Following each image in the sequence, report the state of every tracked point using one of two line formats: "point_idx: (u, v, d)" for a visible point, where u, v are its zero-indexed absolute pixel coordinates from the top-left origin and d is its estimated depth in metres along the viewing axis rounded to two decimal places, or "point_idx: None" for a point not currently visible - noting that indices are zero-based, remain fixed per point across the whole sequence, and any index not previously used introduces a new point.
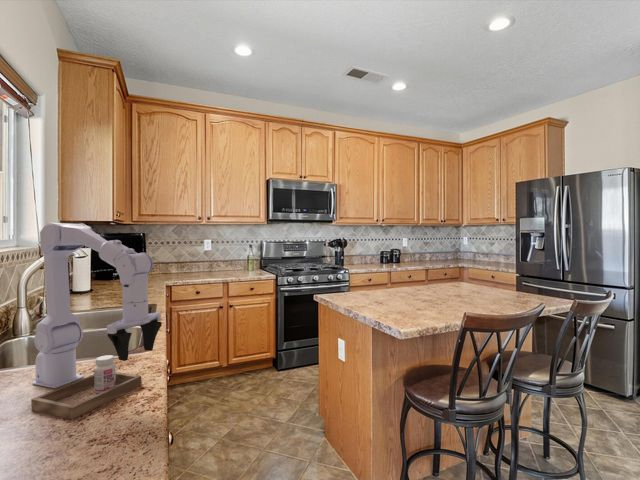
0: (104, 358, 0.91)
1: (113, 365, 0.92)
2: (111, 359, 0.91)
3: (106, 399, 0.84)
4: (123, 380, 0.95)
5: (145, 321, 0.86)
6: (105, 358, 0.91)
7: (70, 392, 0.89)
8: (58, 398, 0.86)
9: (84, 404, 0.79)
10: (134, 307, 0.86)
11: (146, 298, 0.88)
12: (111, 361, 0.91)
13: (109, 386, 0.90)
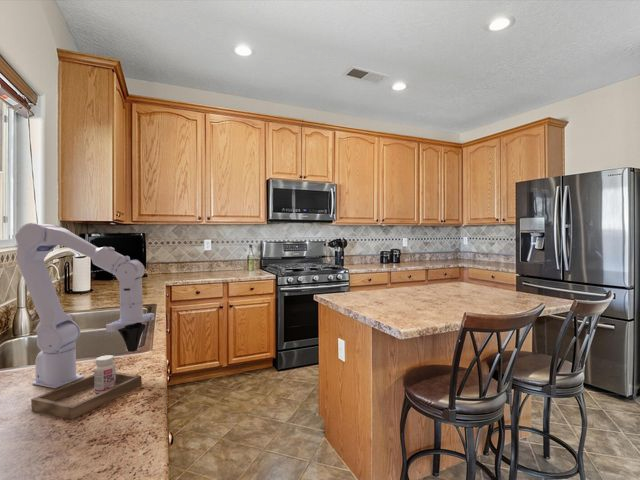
0: (104, 358, 0.91)
1: (113, 365, 0.92)
2: (111, 359, 0.91)
3: (106, 399, 0.84)
4: (123, 380, 0.95)
5: (140, 321, 0.98)
6: (105, 358, 0.91)
7: (70, 392, 0.89)
8: (58, 398, 0.86)
9: (84, 404, 0.79)
10: (130, 308, 0.97)
11: (142, 299, 1.01)
12: (111, 361, 0.91)
13: (109, 386, 0.90)
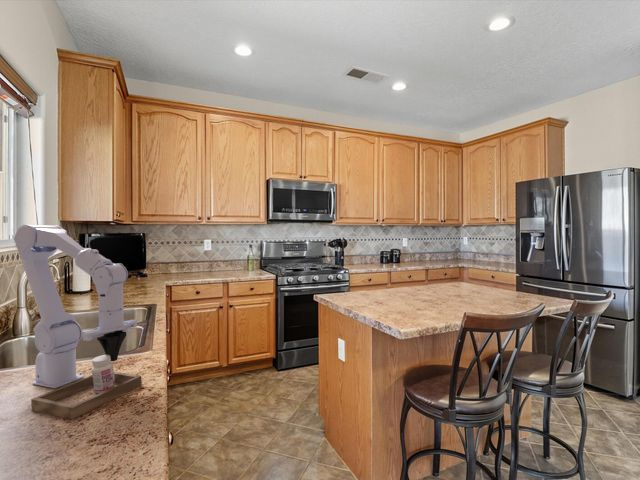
0: (100, 359, 0.90)
1: (110, 365, 0.91)
2: (108, 359, 0.90)
3: (106, 399, 0.84)
4: (123, 380, 0.95)
5: (120, 328, 0.92)
6: (102, 358, 0.90)
7: (70, 392, 0.89)
8: (58, 398, 0.86)
9: (84, 404, 0.79)
10: (109, 315, 0.91)
11: (122, 306, 0.94)
12: (108, 361, 0.90)
13: (108, 385, 0.90)
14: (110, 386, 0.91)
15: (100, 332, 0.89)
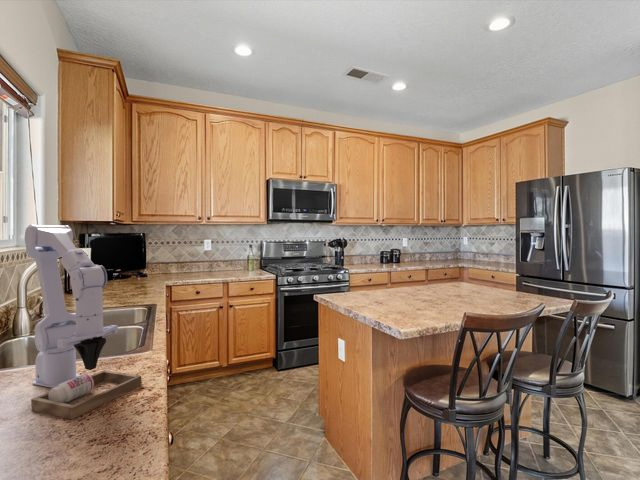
0: (56, 395, 0.82)
1: (62, 384, 0.85)
2: (56, 387, 0.83)
3: (106, 399, 0.84)
4: (123, 380, 0.95)
5: (98, 335, 0.86)
6: (55, 394, 0.82)
7: None
8: None
9: (84, 404, 0.79)
10: (87, 321, 0.85)
11: (98, 312, 0.87)
12: (58, 387, 0.83)
13: (85, 377, 0.89)
14: (86, 376, 0.89)
15: (76, 339, 0.83)
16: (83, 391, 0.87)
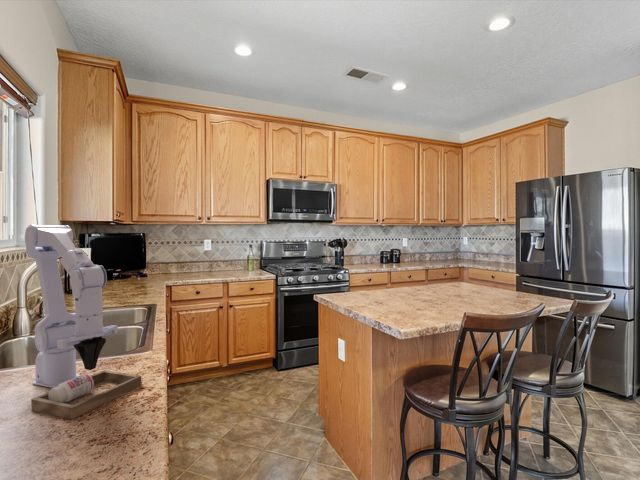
0: (56, 395, 0.82)
1: (62, 384, 0.85)
2: (56, 387, 0.83)
3: (106, 399, 0.84)
4: (123, 380, 0.95)
5: (98, 335, 0.86)
6: (55, 394, 0.82)
7: None
8: None
9: (84, 404, 0.79)
10: (86, 321, 0.85)
11: (98, 312, 0.87)
12: (58, 387, 0.83)
13: (85, 377, 0.89)
14: (86, 376, 0.89)
15: (76, 339, 0.83)
16: (83, 391, 0.87)
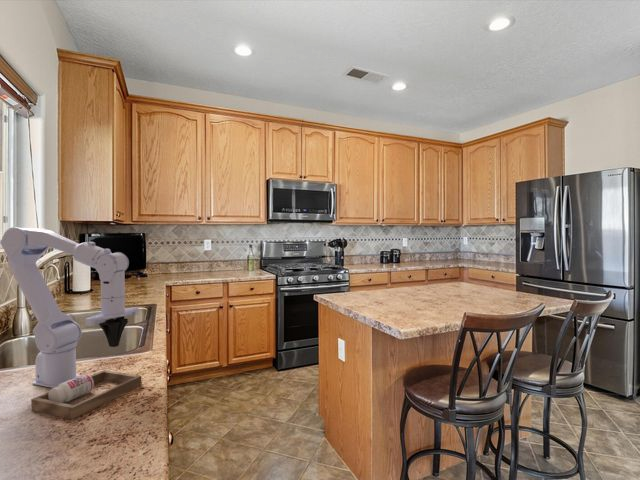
0: (56, 395, 0.82)
1: (62, 384, 0.85)
2: (56, 387, 0.83)
3: (106, 399, 0.84)
4: (123, 380, 0.95)
5: (121, 315, 0.94)
6: (55, 394, 0.82)
7: None
8: None
9: (84, 404, 0.79)
10: (111, 302, 0.94)
11: (124, 293, 0.97)
12: (58, 387, 0.83)
13: (85, 377, 0.89)
14: (86, 376, 0.89)
15: (102, 318, 0.92)
16: (83, 391, 0.87)
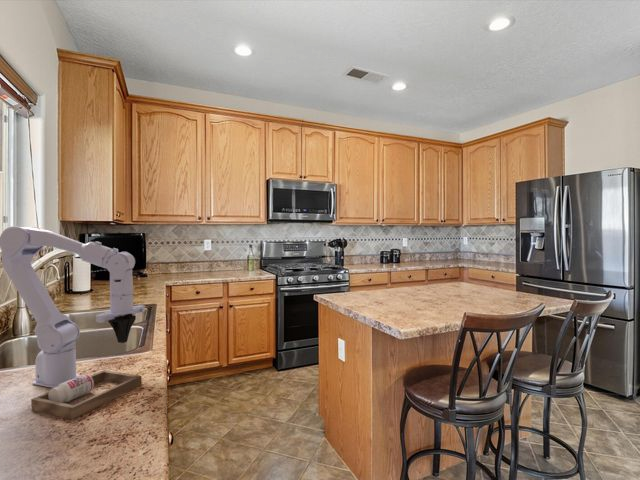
0: (56, 395, 0.82)
1: (62, 384, 0.85)
2: (56, 387, 0.83)
3: (106, 399, 0.84)
4: (123, 380, 0.95)
5: (130, 312, 0.98)
6: (55, 394, 0.82)
7: None
8: None
9: (84, 404, 0.79)
10: (120, 299, 0.97)
11: (132, 291, 1.01)
12: (58, 387, 0.83)
13: (85, 377, 0.89)
14: (86, 376, 0.89)
15: (112, 315, 0.95)
16: (83, 391, 0.87)
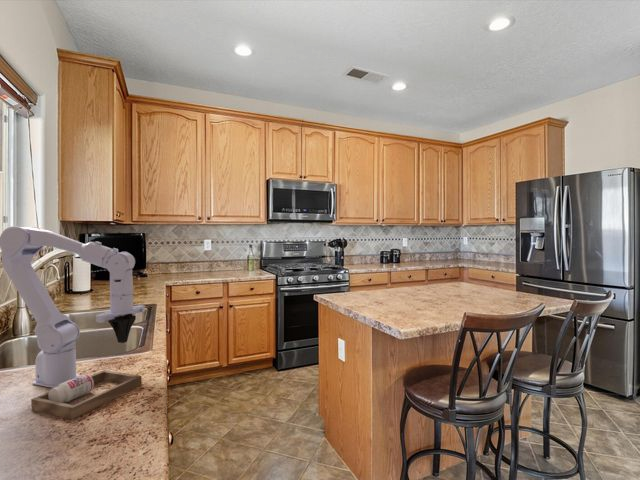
0: (56, 395, 0.82)
1: (62, 384, 0.85)
2: (56, 387, 0.83)
3: (106, 399, 0.84)
4: (123, 380, 0.95)
5: (130, 312, 0.98)
6: (55, 394, 0.82)
7: None
8: None
9: (84, 404, 0.79)
10: (120, 299, 0.97)
11: (132, 291, 1.01)
12: (58, 387, 0.83)
13: (85, 377, 0.89)
14: (86, 376, 0.89)
15: (112, 315, 0.95)
16: (83, 391, 0.87)
